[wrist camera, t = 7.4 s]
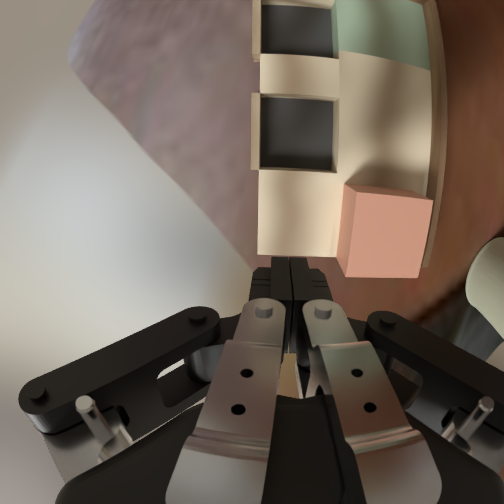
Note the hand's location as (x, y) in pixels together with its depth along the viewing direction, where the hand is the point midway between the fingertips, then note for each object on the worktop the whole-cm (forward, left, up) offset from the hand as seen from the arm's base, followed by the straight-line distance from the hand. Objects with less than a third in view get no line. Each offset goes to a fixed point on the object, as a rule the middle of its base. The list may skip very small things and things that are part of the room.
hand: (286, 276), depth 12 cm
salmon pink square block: (-8, 0, -10) cm, 13 cm away
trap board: (-5, -9, -13) cm, 16 cm away
